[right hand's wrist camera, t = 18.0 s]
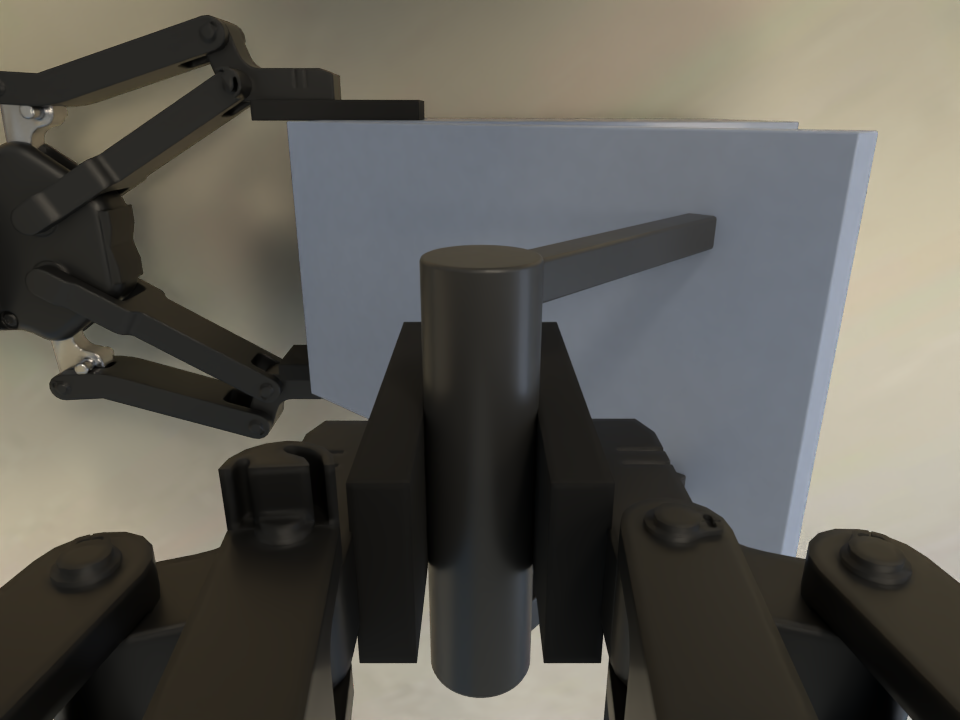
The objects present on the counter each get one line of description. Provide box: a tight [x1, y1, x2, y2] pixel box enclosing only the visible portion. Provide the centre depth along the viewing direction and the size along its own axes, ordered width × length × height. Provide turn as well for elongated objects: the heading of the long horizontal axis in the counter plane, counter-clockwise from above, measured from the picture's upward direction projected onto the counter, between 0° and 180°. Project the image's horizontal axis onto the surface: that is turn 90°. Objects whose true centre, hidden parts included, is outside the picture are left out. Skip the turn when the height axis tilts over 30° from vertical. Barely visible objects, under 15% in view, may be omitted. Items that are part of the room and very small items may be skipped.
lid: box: [287, 121, 878, 698], centre depth 17 cm, size 18×10×9 cm
